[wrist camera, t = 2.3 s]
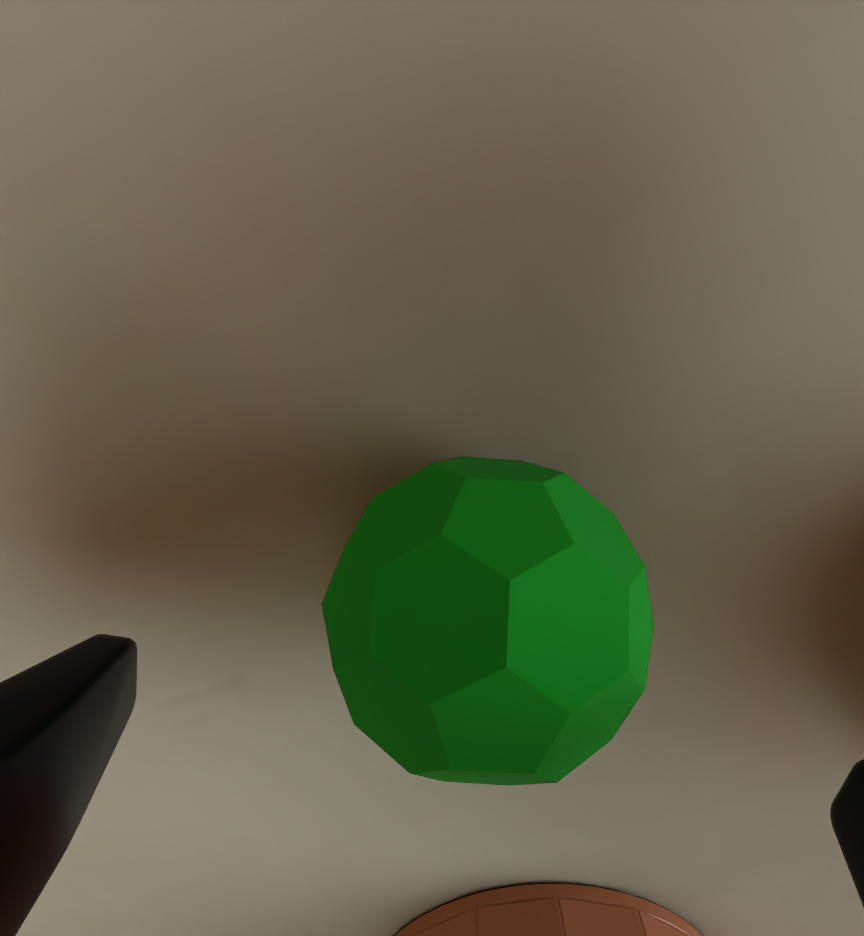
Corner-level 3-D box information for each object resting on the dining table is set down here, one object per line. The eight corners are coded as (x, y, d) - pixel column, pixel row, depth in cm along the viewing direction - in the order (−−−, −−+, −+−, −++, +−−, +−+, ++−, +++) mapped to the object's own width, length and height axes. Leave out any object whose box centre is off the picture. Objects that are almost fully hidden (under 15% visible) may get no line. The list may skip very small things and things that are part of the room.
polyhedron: (433, 683, 13) (431, 915, 9) (297, 505, 12) (209, 674, 7) (646, 577, 12) (768, 776, 8) (527, 368, 11) (591, 465, 6)
